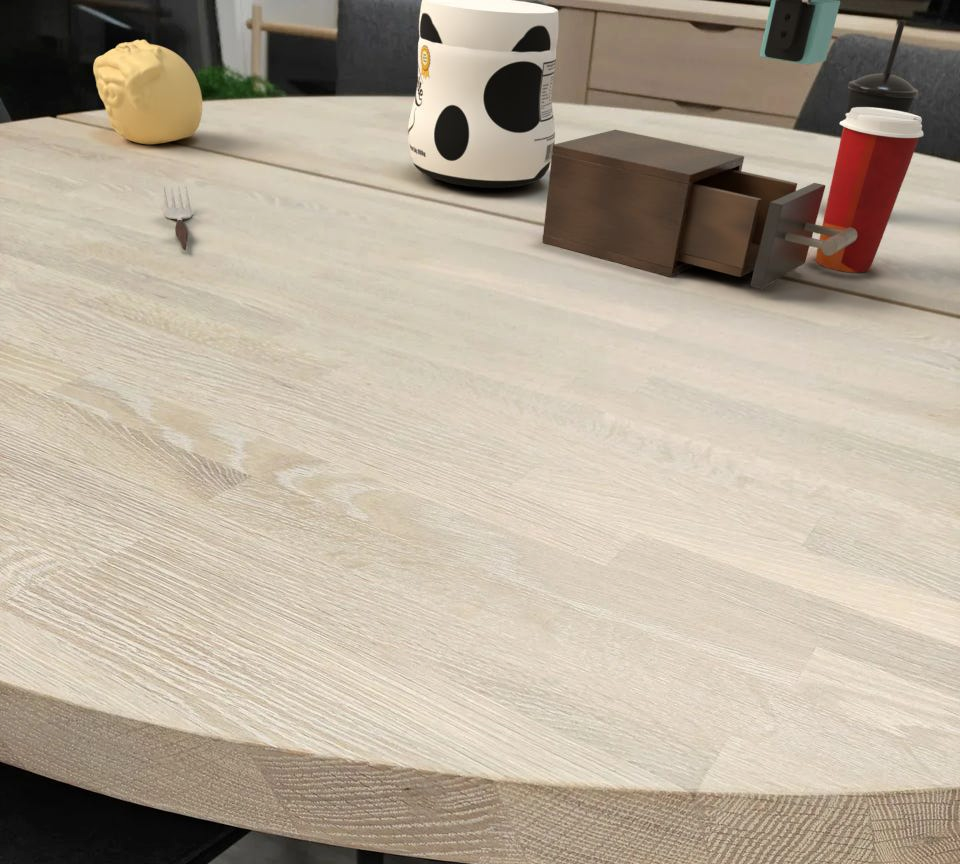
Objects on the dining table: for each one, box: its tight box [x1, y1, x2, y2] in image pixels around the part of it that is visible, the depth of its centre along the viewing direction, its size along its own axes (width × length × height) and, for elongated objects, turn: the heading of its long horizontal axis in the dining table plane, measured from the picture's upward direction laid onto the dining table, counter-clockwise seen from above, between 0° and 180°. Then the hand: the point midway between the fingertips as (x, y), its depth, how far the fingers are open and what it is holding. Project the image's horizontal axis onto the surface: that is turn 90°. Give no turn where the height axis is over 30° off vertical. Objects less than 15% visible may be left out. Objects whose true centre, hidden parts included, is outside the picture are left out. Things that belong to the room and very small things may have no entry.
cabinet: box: [541, 129, 745, 278], centre depth 99 cm, size 15×13×9 cm
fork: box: [163, 186, 193, 251], centre depth 95 cm, size 3×16×2 cm, turn 16°
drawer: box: [677, 169, 857, 290], centre depth 95 cm, size 18×11×7 cm, turn 55°
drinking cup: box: [839, 19, 919, 142], centre depth 115 cm, size 8×8×20 cm
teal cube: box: [759, 0, 841, 66], centre depth 84 cm, size 4×4×4 cm
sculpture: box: [92, 39, 203, 145], centre depth 121 cm, size 11×12×11 cm
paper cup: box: [815, 107, 925, 273], centre depth 99 cm, size 8×8×14 cm
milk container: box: [407, 0, 560, 189], centre depth 115 cm, size 17×17×18 cm
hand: (794, 54), depth 85 cm, fingers closed on teal cube, 4 cm apart
